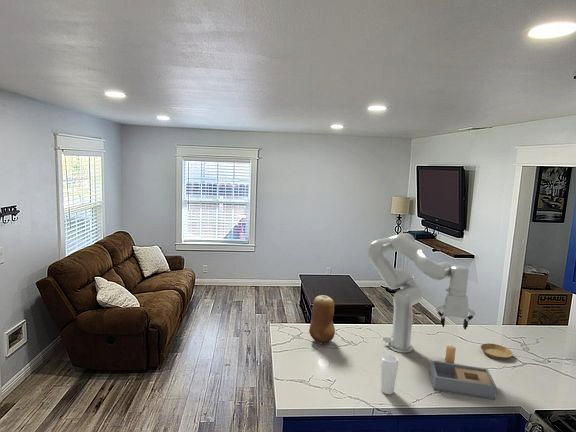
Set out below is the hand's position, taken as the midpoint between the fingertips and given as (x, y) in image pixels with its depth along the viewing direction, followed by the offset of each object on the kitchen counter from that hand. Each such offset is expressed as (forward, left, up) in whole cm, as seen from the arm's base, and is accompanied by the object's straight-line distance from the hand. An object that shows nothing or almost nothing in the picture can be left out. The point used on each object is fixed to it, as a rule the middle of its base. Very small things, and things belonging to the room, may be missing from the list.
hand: (453, 326), depth 187 cm
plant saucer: (+26, +22, -21) cm, 40 cm away
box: (+2, -16, -20) cm, 26 cm away
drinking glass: (-29, -30, -21) cm, 47 cm away
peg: (0, 0, -20) cm, 20 cm away
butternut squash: (-63, +7, -21) cm, 67 cm away
